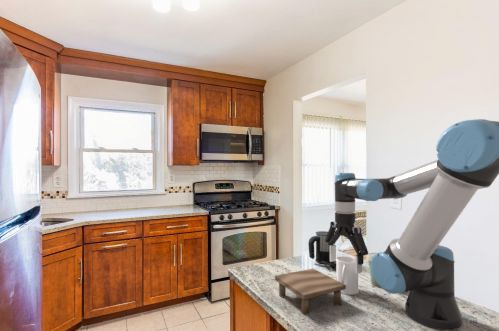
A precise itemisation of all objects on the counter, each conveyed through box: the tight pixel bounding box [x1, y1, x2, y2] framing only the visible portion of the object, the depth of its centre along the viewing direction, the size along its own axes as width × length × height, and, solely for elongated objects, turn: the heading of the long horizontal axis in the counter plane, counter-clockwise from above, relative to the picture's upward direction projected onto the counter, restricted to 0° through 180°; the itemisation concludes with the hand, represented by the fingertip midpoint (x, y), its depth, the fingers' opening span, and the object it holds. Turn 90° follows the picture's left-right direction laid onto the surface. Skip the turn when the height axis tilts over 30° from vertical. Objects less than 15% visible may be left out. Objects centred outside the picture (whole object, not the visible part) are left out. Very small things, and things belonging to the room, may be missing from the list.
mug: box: [335, 256, 360, 296], centre depth 107 cm, size 12×8×12 cm
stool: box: [274, 268, 346, 315], centre depth 100 cm, size 18×18×7 cm
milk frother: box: [308, 230, 336, 269], centre depth 138 cm, size 14×16×15 cm
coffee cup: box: [366, 252, 381, 288], centre depth 113 cm, size 8×8×12 cm
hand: (345, 266), depth 107 cm, fingers open, 13 cm apart
